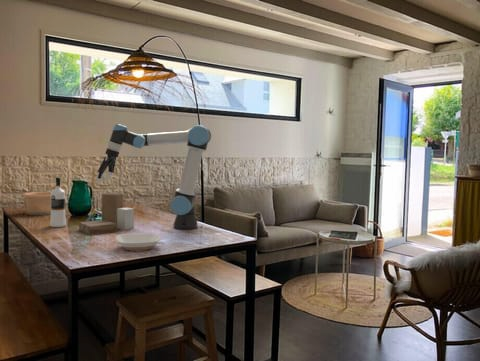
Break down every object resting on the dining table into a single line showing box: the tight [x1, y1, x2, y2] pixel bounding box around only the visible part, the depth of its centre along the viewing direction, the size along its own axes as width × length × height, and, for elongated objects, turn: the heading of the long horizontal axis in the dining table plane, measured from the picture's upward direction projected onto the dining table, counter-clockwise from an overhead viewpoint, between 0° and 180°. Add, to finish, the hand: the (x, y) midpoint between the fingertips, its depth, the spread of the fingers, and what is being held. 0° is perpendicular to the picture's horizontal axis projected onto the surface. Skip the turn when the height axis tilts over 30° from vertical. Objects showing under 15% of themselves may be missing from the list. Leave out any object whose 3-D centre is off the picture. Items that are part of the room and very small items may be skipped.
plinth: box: [78, 219, 118, 236], centre depth 245 cm, size 16×16×5 cm
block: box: [101, 192, 124, 224], centre depth 264 cm, size 10×10×20 cm
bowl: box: [115, 232, 162, 251], centre depth 207 cm, size 22×22×5 cm
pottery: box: [22, 191, 51, 216], centre depth 298 cm, size 22×22×14 cm
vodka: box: [49, 177, 67, 228], centre depth 253 cm, size 9×9×30 cm
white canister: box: [117, 207, 135, 230], centre depth 255 cm, size 7×7×12 cm
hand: (102, 182), depth 250 cm, fingers open, 13 cm apart
